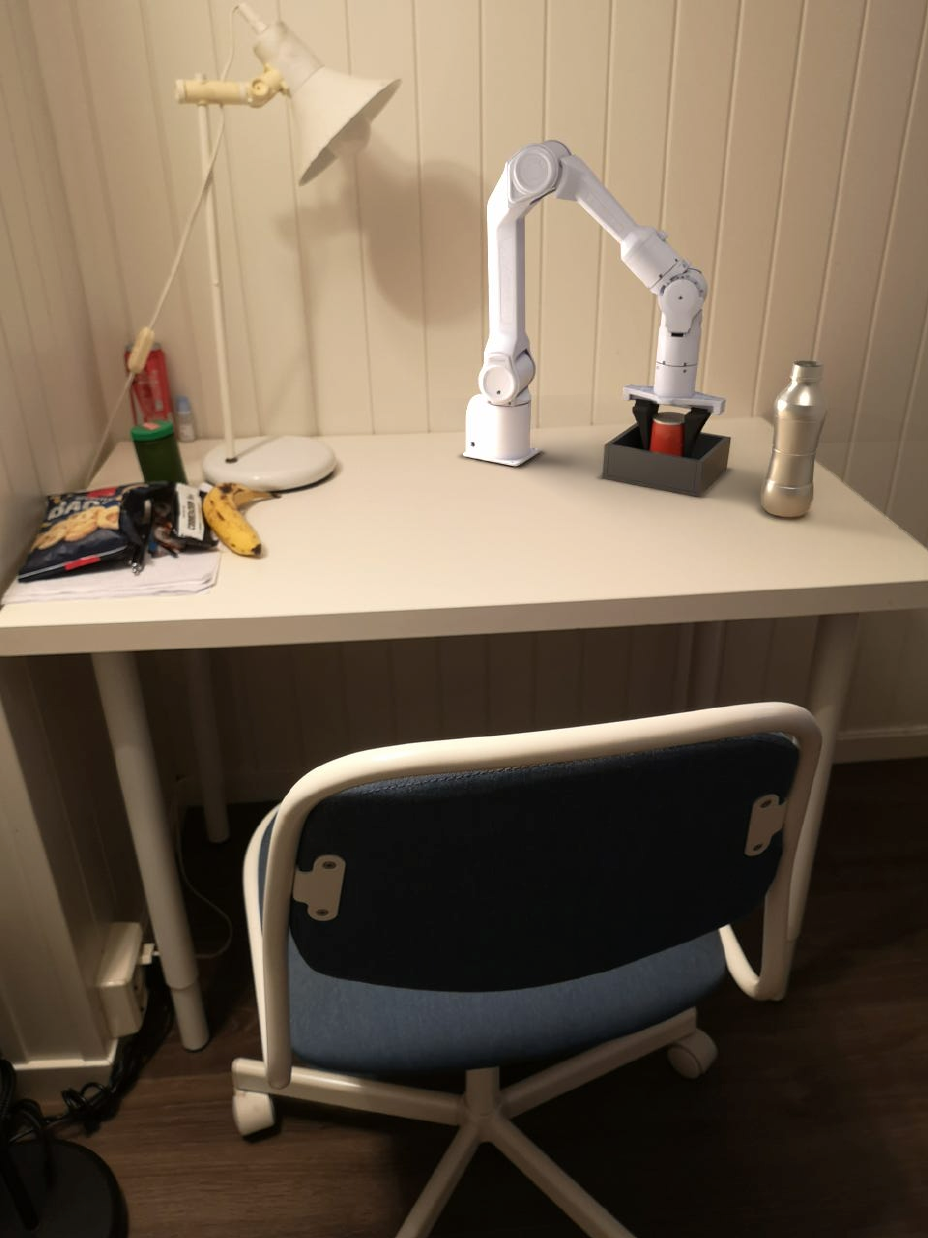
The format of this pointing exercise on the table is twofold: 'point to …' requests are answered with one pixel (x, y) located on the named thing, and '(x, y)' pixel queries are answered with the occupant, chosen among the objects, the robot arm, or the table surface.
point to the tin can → (668, 433)
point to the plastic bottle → (795, 442)
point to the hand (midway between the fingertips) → (667, 454)
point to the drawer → (666, 463)
